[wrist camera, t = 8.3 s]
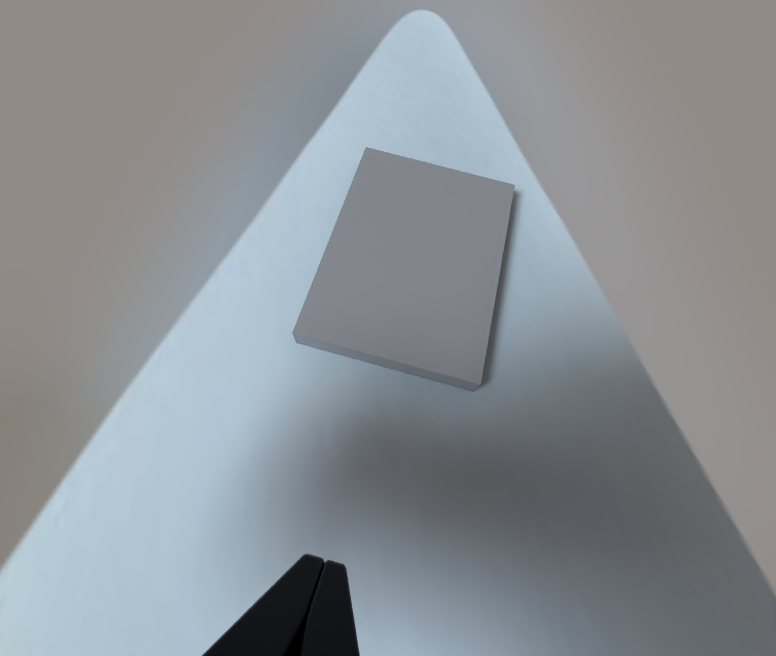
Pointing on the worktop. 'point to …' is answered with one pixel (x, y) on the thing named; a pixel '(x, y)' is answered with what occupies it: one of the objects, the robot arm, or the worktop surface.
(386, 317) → the tile
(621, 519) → the worktop surface
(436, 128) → the worktop surface
